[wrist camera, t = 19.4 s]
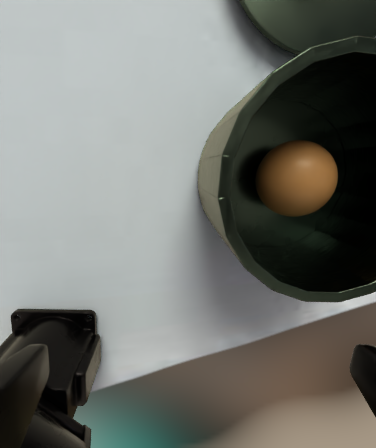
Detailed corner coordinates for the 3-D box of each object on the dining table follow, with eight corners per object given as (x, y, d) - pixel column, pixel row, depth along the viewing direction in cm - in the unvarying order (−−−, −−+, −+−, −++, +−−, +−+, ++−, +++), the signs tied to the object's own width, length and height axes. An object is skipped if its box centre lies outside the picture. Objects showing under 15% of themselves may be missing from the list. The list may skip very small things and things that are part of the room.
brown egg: (241, 208, 19) (269, 222, 14) (249, 141, 18) (283, 131, 13) (301, 211, 20) (348, 225, 15) (312, 146, 18) (367, 139, 14)
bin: (191, 248, 20) (207, 300, 12) (204, 85, 17) (235, 18, 10) (331, 253, 21) (426, 304, 13) (363, 102, 18) (505, 54, 11)
